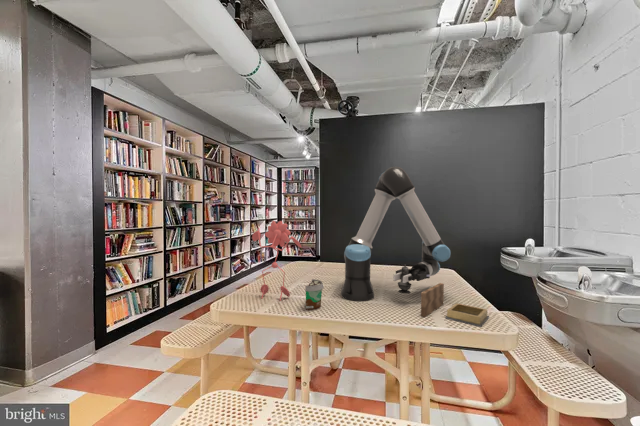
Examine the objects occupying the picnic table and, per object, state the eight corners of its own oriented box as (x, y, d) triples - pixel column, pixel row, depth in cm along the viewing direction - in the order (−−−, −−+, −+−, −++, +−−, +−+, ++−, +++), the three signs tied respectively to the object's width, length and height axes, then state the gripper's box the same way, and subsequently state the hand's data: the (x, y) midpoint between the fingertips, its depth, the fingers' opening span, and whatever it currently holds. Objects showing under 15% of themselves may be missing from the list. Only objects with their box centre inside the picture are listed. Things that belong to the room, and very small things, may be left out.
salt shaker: (395, 290, 130) (396, 262, 130) (408, 290, 130) (409, 263, 130) (400, 293, 124) (401, 265, 124) (413, 293, 125) (414, 265, 124)
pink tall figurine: (296, 303, 125) (298, 221, 125) (244, 297, 133) (245, 220, 134) (309, 294, 140) (310, 221, 140) (262, 289, 148) (263, 220, 148)
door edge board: (424, 317, 111) (425, 293, 111) (421, 316, 112) (421, 292, 112) (443, 304, 126) (443, 283, 126) (439, 303, 127) (440, 282, 127)
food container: (320, 312, 115) (320, 287, 115) (305, 311, 116) (305, 286, 116) (325, 302, 127) (326, 279, 127) (312, 301, 128) (312, 278, 128)
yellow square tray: (480, 327, 102) (481, 318, 102) (445, 318, 110) (445, 310, 110) (489, 317, 111) (489, 309, 111) (455, 310, 119) (455, 302, 119)
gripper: (439, 281, 135) (417, 291, 118) (405, 275, 146) (381, 283, 129) (439, 265, 135) (418, 273, 117) (405, 260, 146) (381, 266, 128)
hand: (399, 278), depth 123 cm, fingers closed on salt shaker, 4 cm apart
